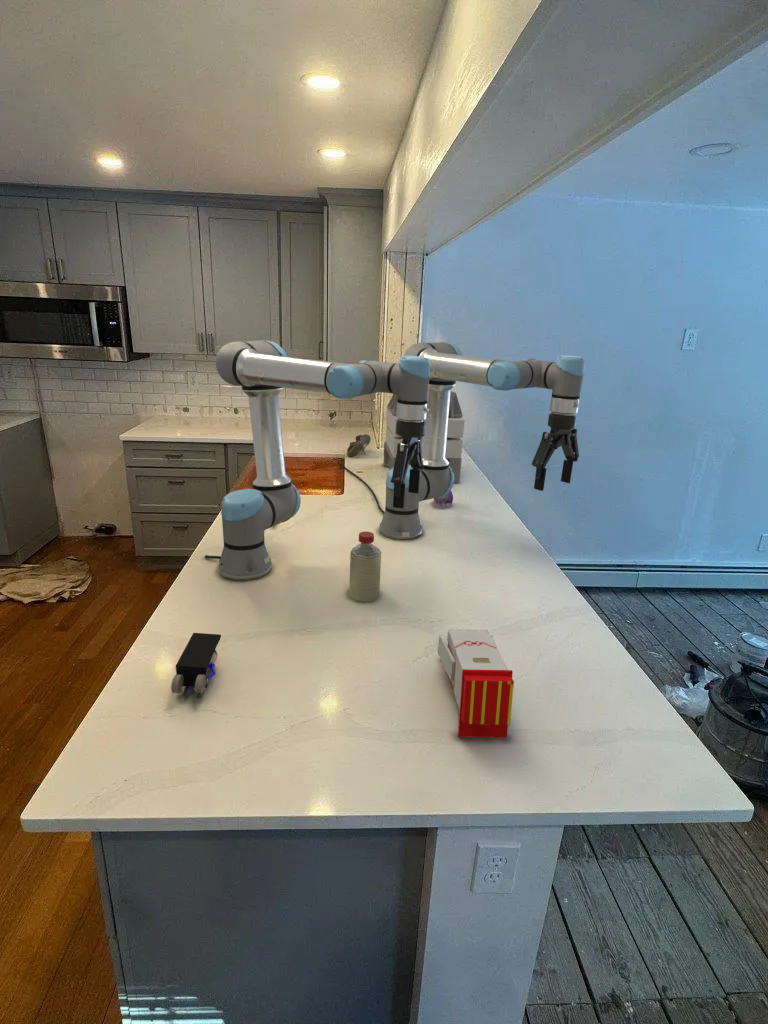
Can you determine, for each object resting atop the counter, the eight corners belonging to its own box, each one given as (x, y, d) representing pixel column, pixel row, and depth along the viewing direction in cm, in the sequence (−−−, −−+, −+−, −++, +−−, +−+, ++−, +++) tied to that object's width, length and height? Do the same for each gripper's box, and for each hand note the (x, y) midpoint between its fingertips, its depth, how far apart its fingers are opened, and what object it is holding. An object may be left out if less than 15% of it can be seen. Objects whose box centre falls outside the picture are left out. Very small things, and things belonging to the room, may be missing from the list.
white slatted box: (382, 463, 289) (386, 382, 275) (445, 464, 293) (451, 384, 279) (390, 482, 257) (394, 392, 243) (460, 483, 261) (468, 394, 247)
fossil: (346, 440, 316) (367, 425, 311) (357, 453, 319) (378, 438, 314) (340, 453, 296) (362, 438, 291) (351, 468, 299) (374, 452, 294)
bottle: (352, 603, 152) (353, 542, 146) (347, 588, 159) (348, 530, 153) (382, 601, 154) (385, 540, 148) (375, 587, 161) (378, 529, 155)
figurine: (439, 510, 225) (442, 474, 220) (426, 502, 233) (428, 467, 228) (459, 507, 229) (462, 471, 224) (445, 500, 237) (448, 465, 232)
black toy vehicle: (206, 709, 112) (224, 658, 125) (202, 680, 108) (221, 630, 122) (172, 708, 112) (194, 657, 125) (167, 679, 108) (190, 629, 122)
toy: (488, 613, 130) (523, 677, 101) (484, 667, 133) (517, 744, 104) (435, 612, 130) (455, 676, 101) (432, 666, 133) (451, 743, 103)
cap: (360, 544, 149) (360, 537, 148) (357, 538, 152) (357, 531, 152) (375, 543, 150) (375, 536, 149) (372, 537, 153) (372, 531, 153)
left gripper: (411, 430, 130) (406, 516, 137) (437, 413, 153) (431, 488, 160) (380, 426, 132) (376, 512, 140) (411, 410, 155) (406, 485, 162)
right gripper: (548, 419, 148) (537, 496, 155) (598, 411, 163) (586, 482, 171) (525, 414, 153) (515, 489, 160) (575, 407, 169) (564, 476, 176)
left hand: (406, 499), depth 150 cm, fingers open, 13 cm apart
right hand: (552, 485), depth 166 cm, fingers open, 13 cm apart
